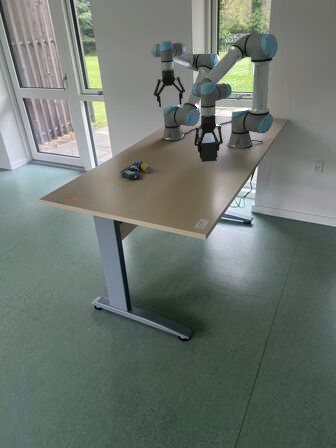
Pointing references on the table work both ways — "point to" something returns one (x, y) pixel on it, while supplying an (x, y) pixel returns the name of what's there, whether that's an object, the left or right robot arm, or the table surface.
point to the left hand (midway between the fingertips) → (170, 105)
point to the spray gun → (135, 167)
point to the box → (208, 147)
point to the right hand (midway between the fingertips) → (208, 156)
